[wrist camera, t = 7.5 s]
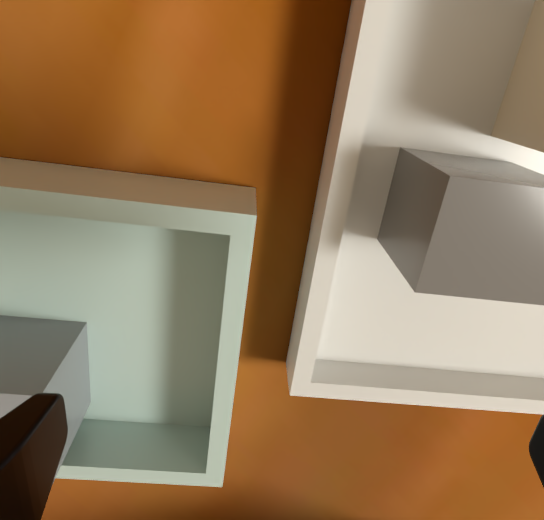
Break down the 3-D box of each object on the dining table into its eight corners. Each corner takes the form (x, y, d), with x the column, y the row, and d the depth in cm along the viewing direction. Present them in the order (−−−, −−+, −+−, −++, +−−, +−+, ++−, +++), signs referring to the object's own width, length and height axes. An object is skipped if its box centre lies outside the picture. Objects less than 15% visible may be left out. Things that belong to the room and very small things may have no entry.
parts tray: (587, 387, 23) (620, 420, 21) (285, 362, 21) (289, 395, 19) (802, -9, 16) (888, -20, 13) (368, -90, 14) (388, -116, 12)
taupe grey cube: (510, 162, 17) (594, 194, 13) (479, 250, 19) (545, 305, 14) (400, 147, 17) (450, 176, 12) (377, 239, 18) (414, 292, 14)
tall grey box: (90, 402, 21) (50, 488, 17) (7, 396, 20) (-55, 482, 16) (87, 322, 19) (40, 396, 15) (-5, 314, 19) (-79, 388, 14)
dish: (226, 427, 23) (222, 487, 20) (-35, 410, 22) (-85, 470, 18) (255, 187, 18) (256, 215, 14) (-88, 146, 16) (-170, 166, 13)
